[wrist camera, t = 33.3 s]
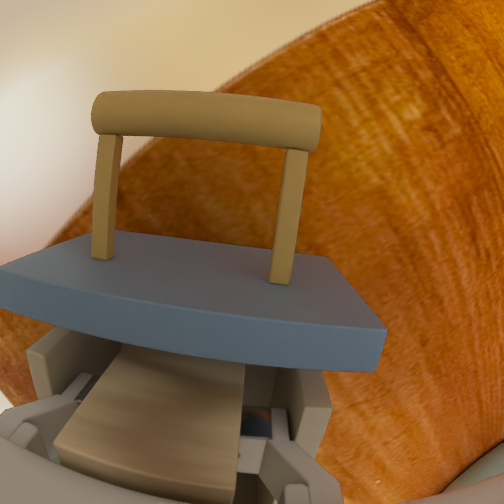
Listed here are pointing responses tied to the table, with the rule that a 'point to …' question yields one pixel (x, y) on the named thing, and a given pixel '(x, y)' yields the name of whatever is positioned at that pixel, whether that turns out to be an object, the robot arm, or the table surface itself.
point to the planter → (481, 469)
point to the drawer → (200, 276)
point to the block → (160, 426)
